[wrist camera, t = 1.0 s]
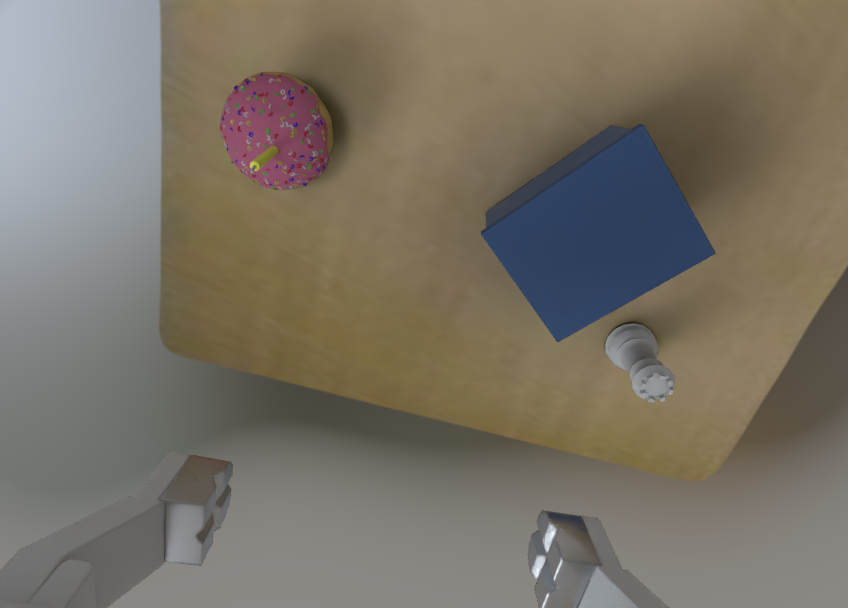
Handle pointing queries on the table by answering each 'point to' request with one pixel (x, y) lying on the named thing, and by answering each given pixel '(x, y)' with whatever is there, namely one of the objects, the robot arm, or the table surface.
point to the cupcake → (277, 131)
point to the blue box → (596, 230)
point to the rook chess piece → (640, 361)
